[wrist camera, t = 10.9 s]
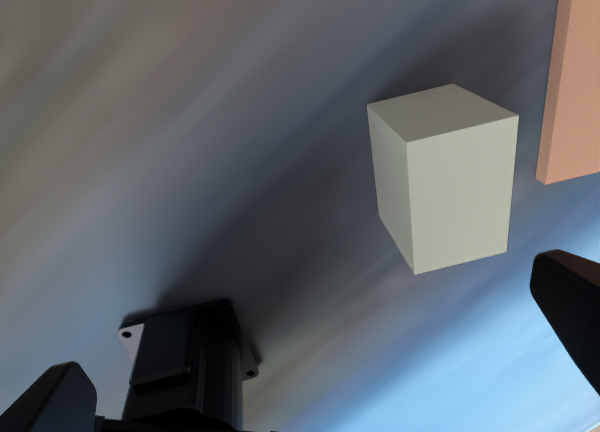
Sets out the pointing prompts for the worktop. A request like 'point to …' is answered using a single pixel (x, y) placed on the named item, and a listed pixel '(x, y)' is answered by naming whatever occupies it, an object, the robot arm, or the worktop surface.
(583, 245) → the worktop surface
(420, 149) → the sage block
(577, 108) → the terracotta tile
